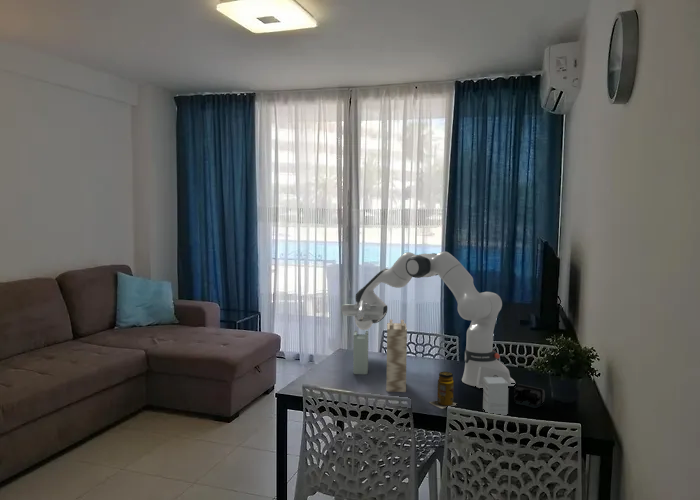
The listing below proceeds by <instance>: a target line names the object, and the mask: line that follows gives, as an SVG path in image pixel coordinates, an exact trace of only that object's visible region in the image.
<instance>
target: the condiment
mask: <svg viewBox="0 0 700 500" xmlns="http://www.w3.org/2000/svg"><path fill="white" fill-rule="evenodd" d="M453 376H454V375H453V373H452V372H450V371H439V374H438V379H437V399H436V400H433V401H429V402H428V403H429V404H431V405H433V406H435V407H436V408H439V409H446V407H447V406H451V407H454V406H455V407H456V406H457V405H456V404H457V403H456V402H454V383H455V382H454V378H453ZM447 408H448V407H447Z"/></svg>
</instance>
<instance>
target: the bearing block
mask: <svg viewBox="0 0 700 500" xmlns="http://www.w3.org/2000/svg"><path fill="white" fill-rule="evenodd" d="M407 331H408V328H407V323H405V320H404V319H400V322H399V323H398V322H393V319H389V322H387V324H386V388H385V390H386V392H389V393H390V392H392V393H406V392H407V352H408V350H407V345H408V344H407V343H408V340H407V339H408V332H407Z"/></svg>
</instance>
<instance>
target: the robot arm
mask: <svg viewBox="0 0 700 500" xmlns="http://www.w3.org/2000/svg"><path fill="white" fill-rule="evenodd" d="M434 276H438V277H440V278H441V281H442V282H444V284H445V285H446V287H448V289H449V290H450V291H451V293H452V295H453V296H454V298H455V300H456V302H457V312H458V314H459V316H460V318H462V319H463V320H465V321H471V322H470V325H469V327H468V328H467V330H466V343H465V344H466V346H465V349H464V362H465V363H464V371H463V375H462V378H461V381H462V383H464V384H466V385H468V386H472V387H475V386H476V388H477V389H480V388H483V378H484V377H502V378H503V379H504V380H506V381H507V383H508V386H514V385H515V384H516V381H515V380H514V379H513V378H512V377H511V375H510V373H511V372H510V370H509V368H508V367H506V365H504V364H503V363H502V362H501V361H500V360H499V359H500V358H501V357H500V354H499V352H498V353H497V351H496V350H493V344H494V340H493V339H494V330H495V326H496V323H497V319H498V316H499V313H500V311H501V310H502V307H503V301H502V298H501V296H500V295H499V294H498V293H495V292H492V291H484V292H480V291H478V290H477V288H476V287H475V285H474V278H473V276H472V275H471V274H470V272H469V271H468V270H467V268H465V266H464V265H463V263H461V262H460V261H459V260H458V259H457V258H456V257H455V256H453V254H451V253H450V252H448V251H441V252H438V253H434V252H432V253H420V254H415V253H413V252H409V251H408V252H405V253H403V254H402V255H401V256H400V257H398V258H397V260H396V261H395V262H394V263H393V264H392V266H391V267H390V268H384V269H382V270H380V271H379V272H378V273H376V275H374V276H373V277H372V278H371V279H370V280H369V281H368V282H367V283H366V284H365V285H364V286H363V287H362V288H360V289H359V290H358V291H356V294H355V304H352V303H351V304H350V303H349V304H348V303H346V304H342V305H341V309H340V310H341V314H342V315H344V316H347V317H351V316H352V317H354V322H355V325H356V327H357V328H358V329H360V330H362V331H368V330H369V329H370V328H372V326H373V324H377V323H379V322H381V321H382V320H383V319H384V318H385V317H386V315H387V312H388V305H387V304H386V303H385V302H384V301H383V300H382V299H381V298H380V297H379V296H378V295H377V294H376V293H375V291H374V290H375V289H376V288H377V287H378V286H379V285H380V284H381V283H383V284H385V285H388V286H389V287H392V288H399V289H400V288H404V287H406V285H408V284H409V283H410V281H411V279H413V278H416V279H421V278H430V277H434ZM362 300H363V301H365V310H364V317H363V320H362V321H358V320H357V313H358V307H359V302H360V301H362ZM511 383H515V384H511Z"/></svg>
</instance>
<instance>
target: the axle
mask: <svg viewBox="0 0 700 500" xmlns="http://www.w3.org/2000/svg"><path fill="white" fill-rule="evenodd" d="M364 310H365V301H363V300H362V301H360V302H359V307H358V313H357V320H358V321H362V320H363V317H364Z"/></svg>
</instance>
